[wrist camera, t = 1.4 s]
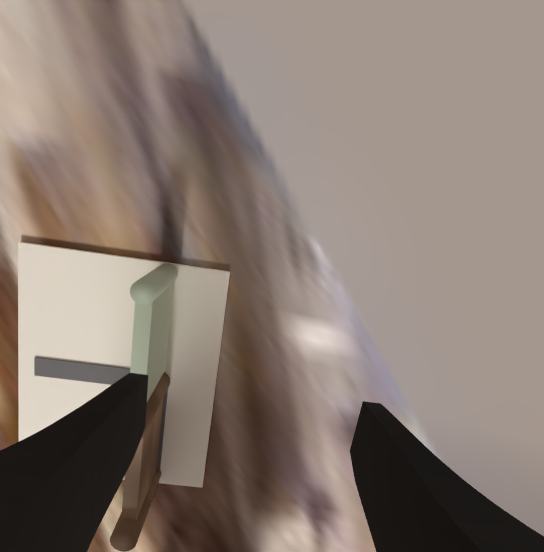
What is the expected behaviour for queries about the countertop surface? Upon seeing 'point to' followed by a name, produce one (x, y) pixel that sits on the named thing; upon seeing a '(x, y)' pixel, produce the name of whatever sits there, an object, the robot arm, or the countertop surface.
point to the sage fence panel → (152, 323)
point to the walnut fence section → (141, 474)
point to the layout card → (116, 345)
